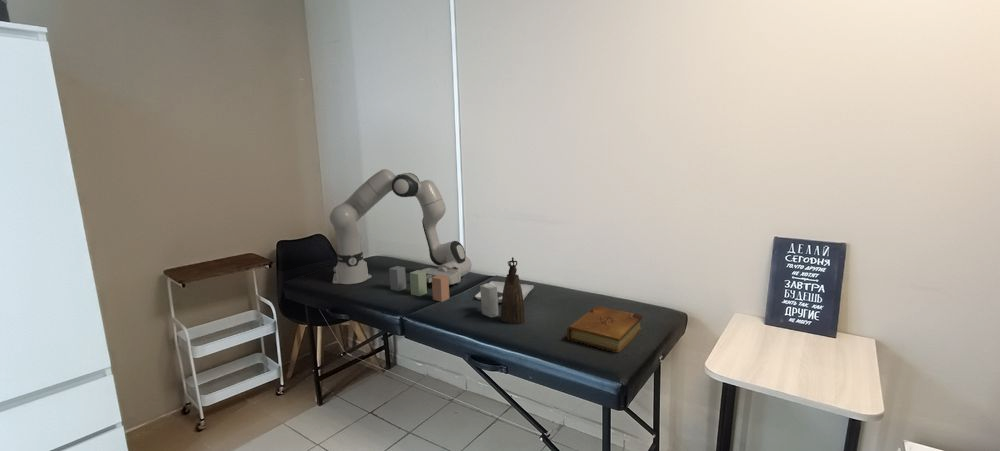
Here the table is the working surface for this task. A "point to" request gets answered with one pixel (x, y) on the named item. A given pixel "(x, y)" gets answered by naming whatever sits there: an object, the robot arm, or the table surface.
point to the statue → (512, 298)
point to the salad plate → (500, 287)
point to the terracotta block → (440, 287)
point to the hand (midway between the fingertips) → (426, 280)
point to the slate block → (397, 278)
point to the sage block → (418, 283)
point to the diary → (605, 328)
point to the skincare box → (489, 300)
